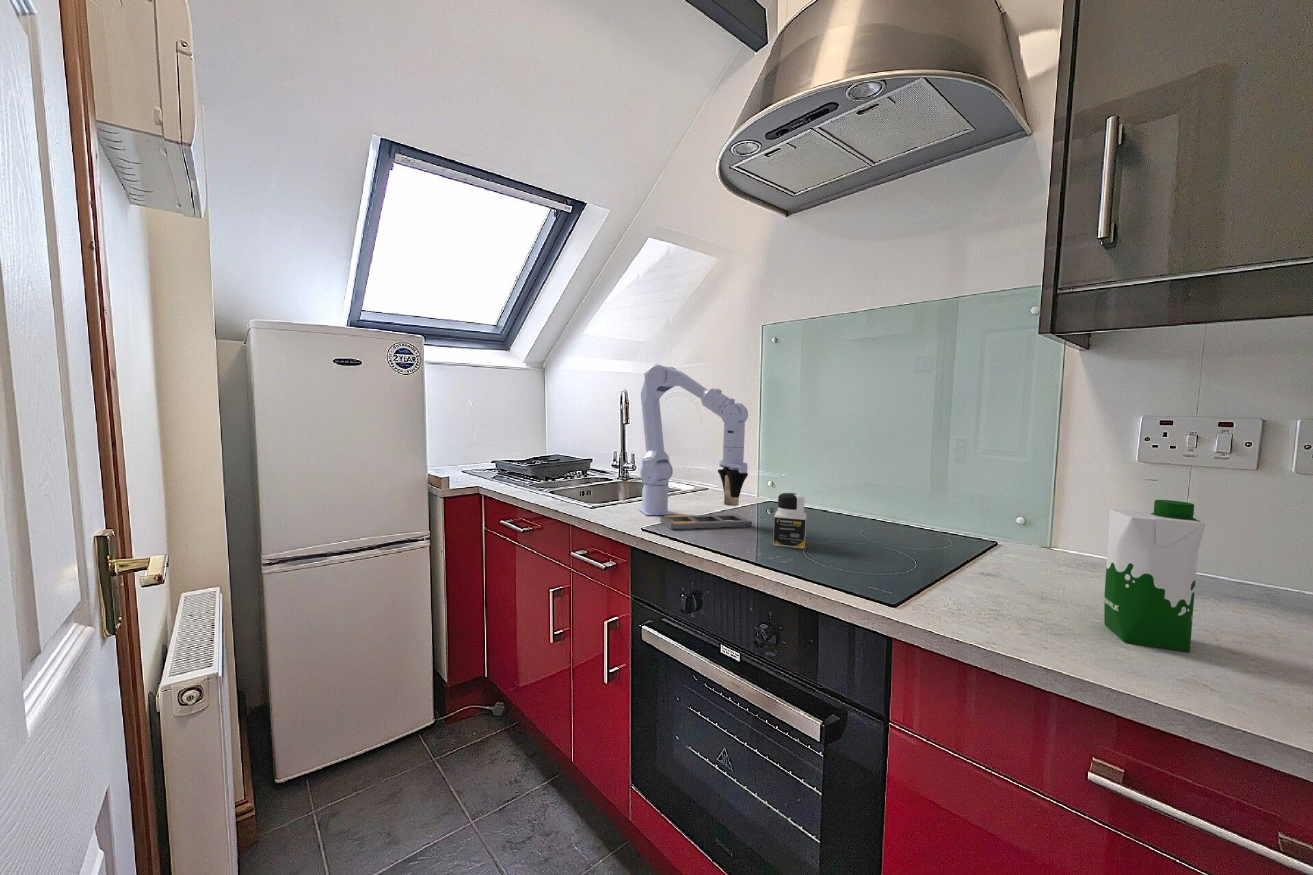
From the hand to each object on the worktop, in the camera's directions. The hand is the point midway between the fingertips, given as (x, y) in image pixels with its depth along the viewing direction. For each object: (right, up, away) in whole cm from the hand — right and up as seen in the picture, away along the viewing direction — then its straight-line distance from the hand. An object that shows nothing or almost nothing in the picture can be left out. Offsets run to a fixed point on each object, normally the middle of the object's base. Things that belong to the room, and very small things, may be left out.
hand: (731, 495), depth 145 cm
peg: (0, -2, 0) cm, 2 cm away
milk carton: (+50, -13, -70) cm, 87 cm away
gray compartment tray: (-7, -8, -2) cm, 11 cm away
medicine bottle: (+11, -9, -20) cm, 25 cm away
